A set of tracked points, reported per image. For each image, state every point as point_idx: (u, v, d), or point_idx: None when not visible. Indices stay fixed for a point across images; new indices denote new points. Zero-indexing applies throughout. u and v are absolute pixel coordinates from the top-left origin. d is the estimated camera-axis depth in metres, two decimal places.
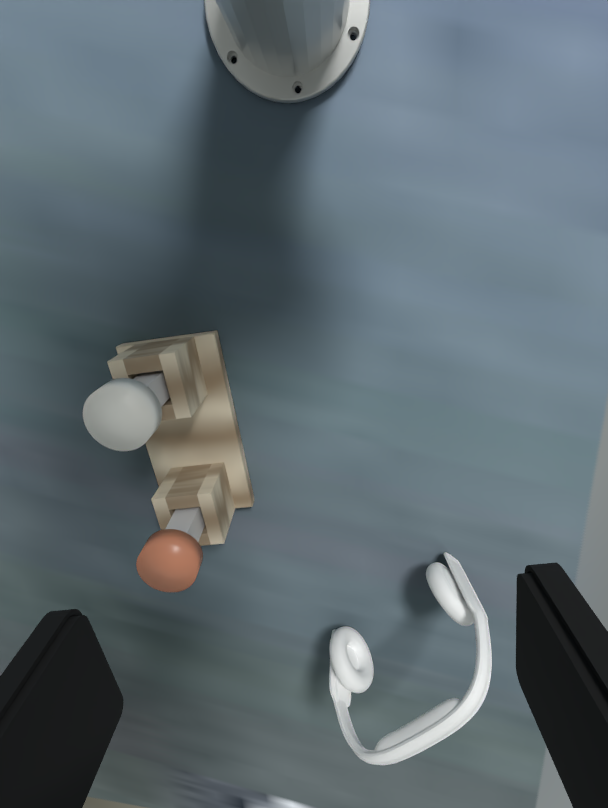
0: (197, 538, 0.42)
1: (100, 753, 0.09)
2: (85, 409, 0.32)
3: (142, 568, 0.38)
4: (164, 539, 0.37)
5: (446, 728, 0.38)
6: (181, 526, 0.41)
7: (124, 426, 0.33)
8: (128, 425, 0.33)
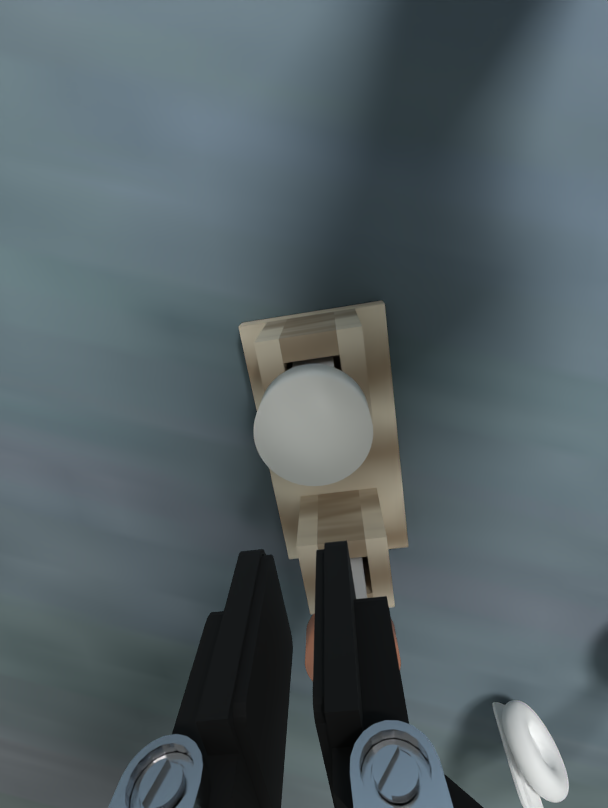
0: None
1: (288, 681, 0.10)
2: (259, 417, 0.19)
3: None
4: None
5: None
6: None
7: (322, 445, 0.19)
8: (329, 442, 0.19)
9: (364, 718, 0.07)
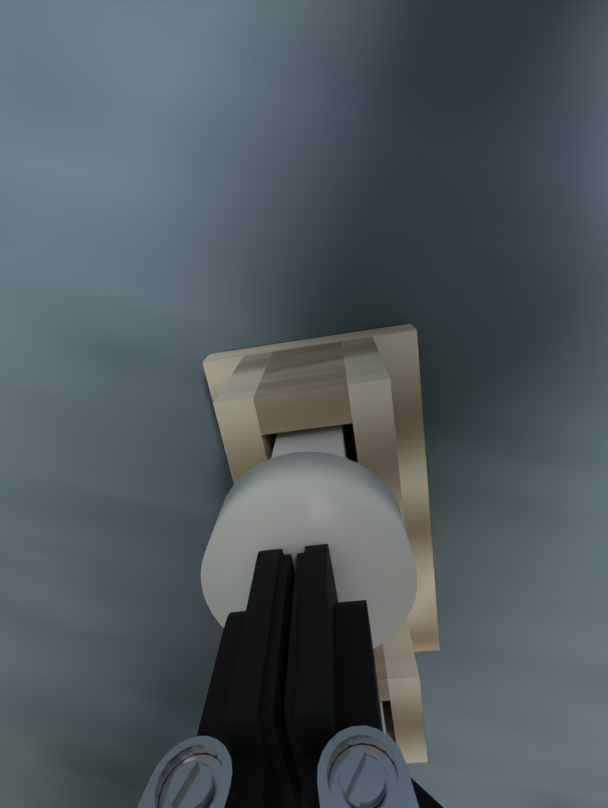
0: None
1: None
2: (210, 558, 0.10)
3: None
4: None
5: None
6: None
7: None
8: (338, 599, 0.11)
9: (337, 723, 0.07)
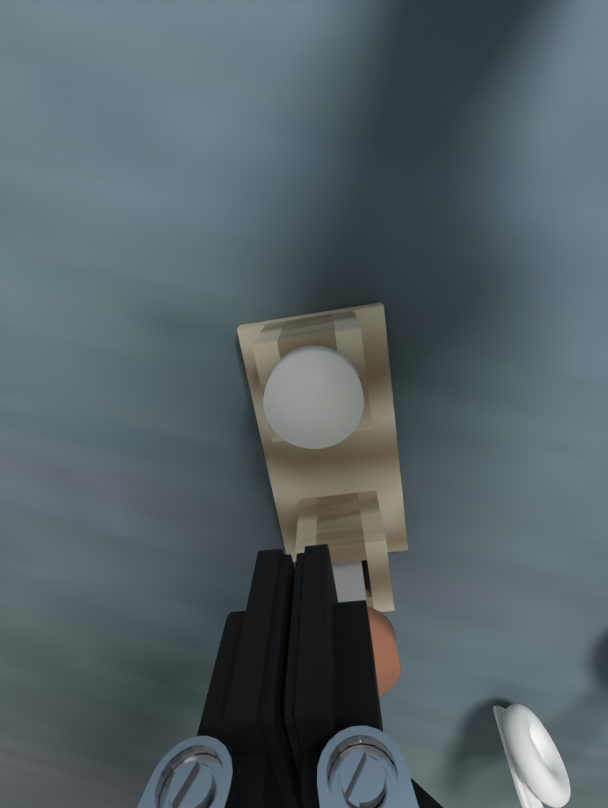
0: None
1: None
2: (268, 389, 0.23)
3: None
4: None
5: None
6: (351, 594, 0.27)
7: (321, 413, 0.23)
8: (327, 410, 0.23)
9: (336, 723, 0.07)
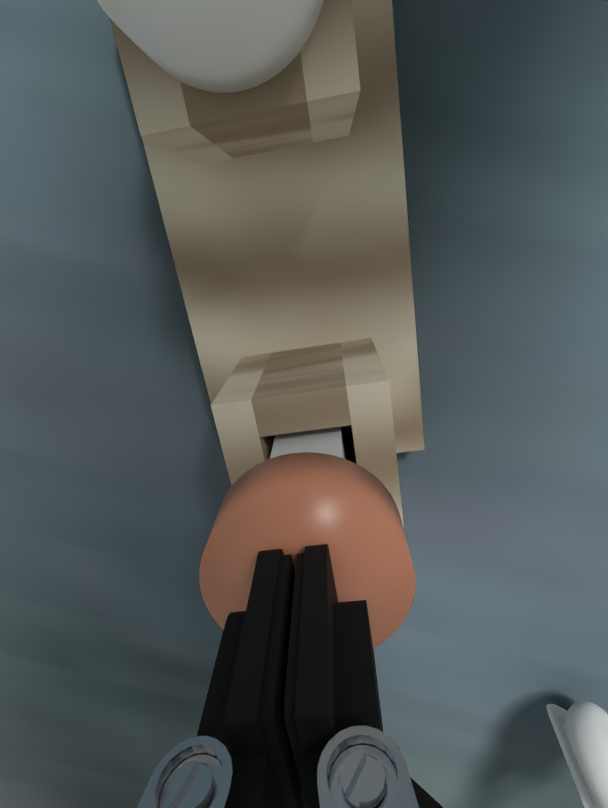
0: None
1: None
2: None
3: (220, 586, 0.11)
4: (303, 481, 0.10)
5: None
6: None
7: None
8: None
9: (336, 723, 0.07)
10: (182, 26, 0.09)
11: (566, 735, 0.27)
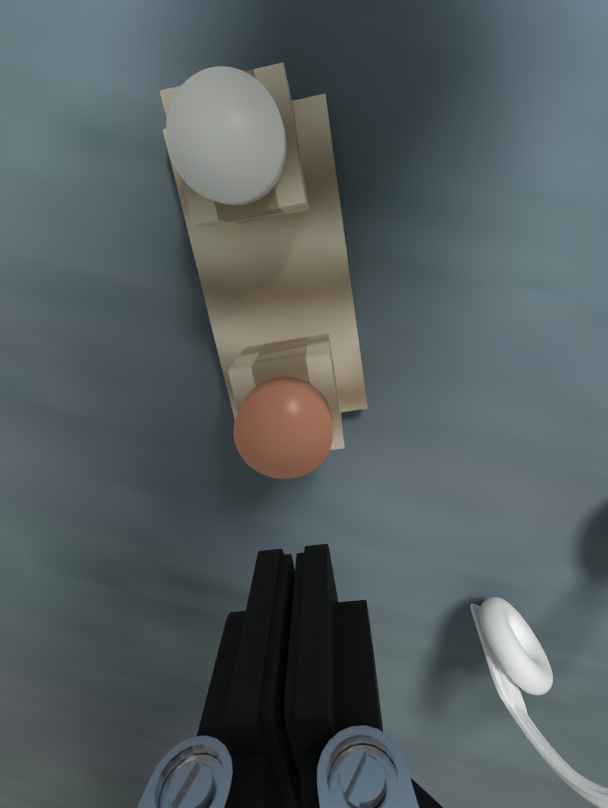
0: None
1: None
2: (170, 118, 0.19)
3: (242, 436, 0.23)
4: (280, 384, 0.23)
5: None
6: None
7: (235, 150, 0.19)
8: (241, 147, 0.19)
9: (336, 723, 0.07)
10: (218, 186, 0.20)
11: None
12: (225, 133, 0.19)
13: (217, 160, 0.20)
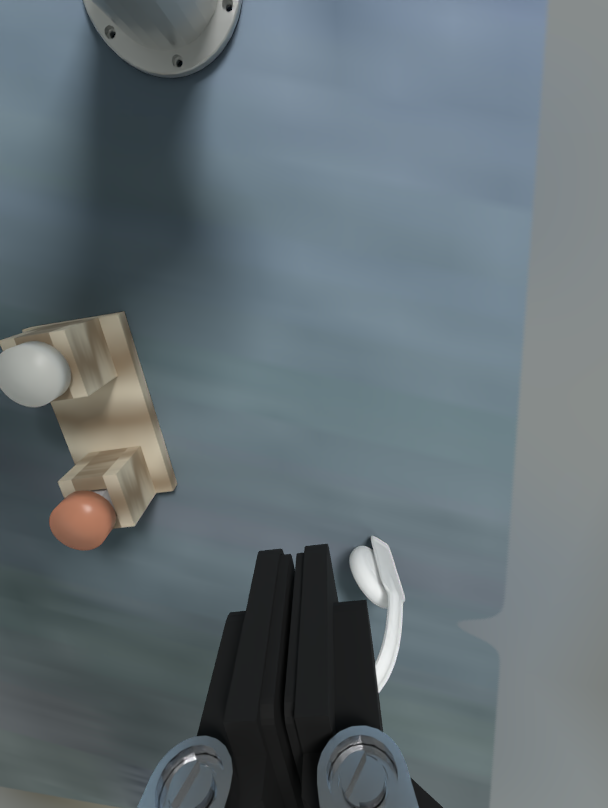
0: None
1: None
2: None
3: (55, 527, 0.40)
4: (74, 499, 0.39)
5: None
6: (98, 490, 0.43)
7: (32, 383, 0.36)
8: (36, 382, 0.36)
9: (336, 723, 0.07)
10: (26, 399, 0.37)
11: None
12: (26, 375, 0.36)
13: (24, 387, 0.36)
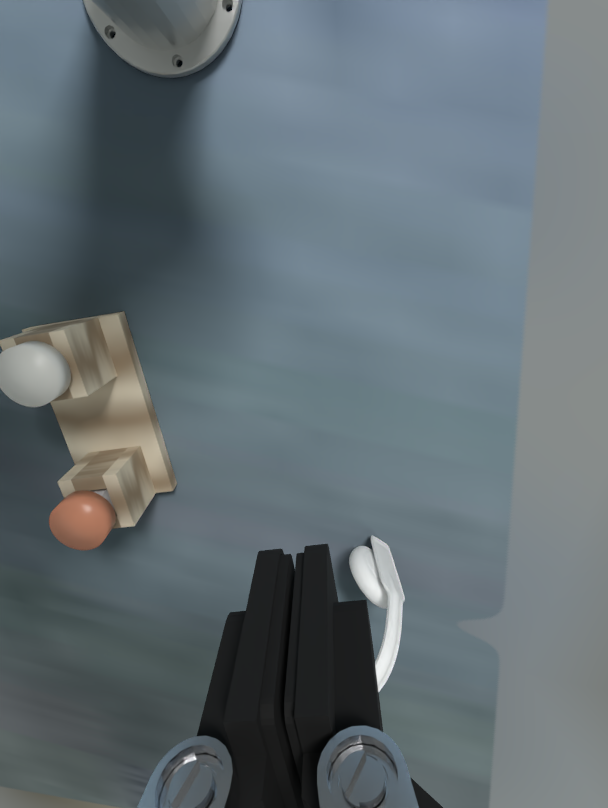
0: None
1: None
2: None
3: (55, 527, 0.40)
4: (74, 499, 0.39)
5: None
6: (98, 490, 0.43)
7: (32, 383, 0.36)
8: (35, 382, 0.36)
9: (336, 723, 0.07)
10: (26, 399, 0.37)
11: None
12: (26, 375, 0.36)
13: (24, 387, 0.36)
